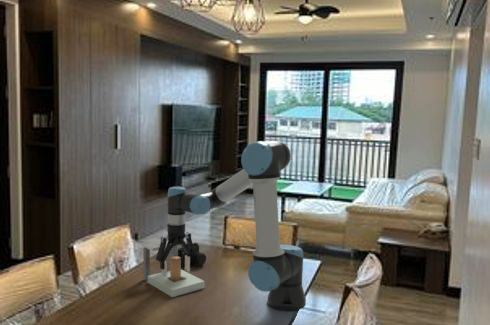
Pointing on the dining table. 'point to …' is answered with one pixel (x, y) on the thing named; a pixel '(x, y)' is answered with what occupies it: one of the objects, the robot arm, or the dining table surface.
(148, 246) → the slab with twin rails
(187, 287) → the socket board
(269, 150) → the robot arm
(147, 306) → the dining table surface
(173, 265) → the peg
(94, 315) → the dining table surface
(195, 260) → the camera
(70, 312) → the dining table surface
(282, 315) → the dining table surface
